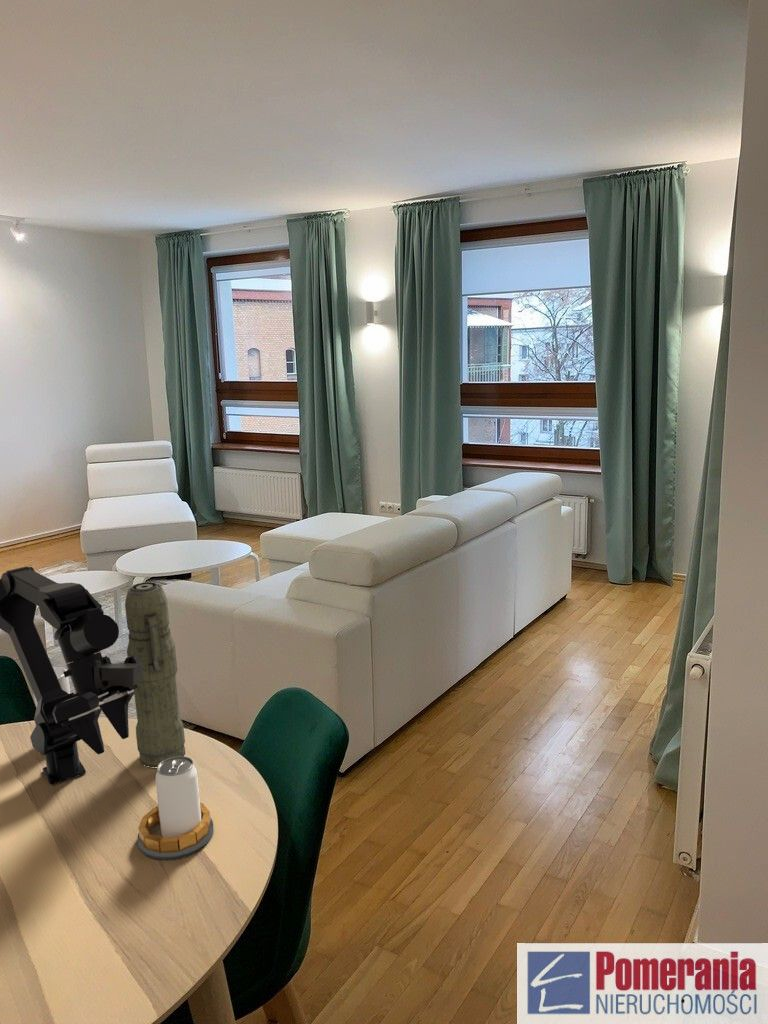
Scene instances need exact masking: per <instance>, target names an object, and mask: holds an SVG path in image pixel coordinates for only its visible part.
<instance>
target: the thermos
mask: <svg viewBox="0 0 768 1024" xmlns="http://www.w3.org/2000/svg"><path fill="white" fill-rule="evenodd" d="M124 609H125V616H126V617H125V618H126V626H127V630H128V644H127V648H126V656H127V657H129V656H138V657H139V659H140V661H141V663H143V667H144V668H145V671H144V672H142V682H141V683H136V684H137V687H138V688H136V689H134V690H133V692H134V691H135V694H134V695H133V696H134V704H135V710H136V720H137V723H136V726H135V737H136V745H137V751H138V752H139V762H140V764H141V763H142V764H143V765H145V766H149V767H158V765H159V764H160V763H161V762H162V761H164V760H166V759H168V758H171V757H176V756H184V755H185V756H186V747H185V743H186V739H185V738H186V737H185V728H184V727H185V726H184V722H183V720H182V718H181V716H180V707H179V705H180V704H179V699H178V698H179V697H178V688H177V687H178V686H177V677H176V675H177V672H178V661H177V653H176V642H175V641H174V638H173V637H172V635H171V628H169V627H170V626H169V625H170V616H169V607H168V598H167V595H166V593H165V591H164V588H163V586H162V585H161V584H160V583H156V582H152V581H150V582H149V581H145V582H139V583H136V584H133V585H132V586H130V587H129V588H128V589H127V592H126V597H125V602H124ZM127 657H126V658H127ZM142 764H141V765H142ZM143 765H142V766H143ZM145 766H144V767H145ZM149 767H148V768H149Z"/></svg>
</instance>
